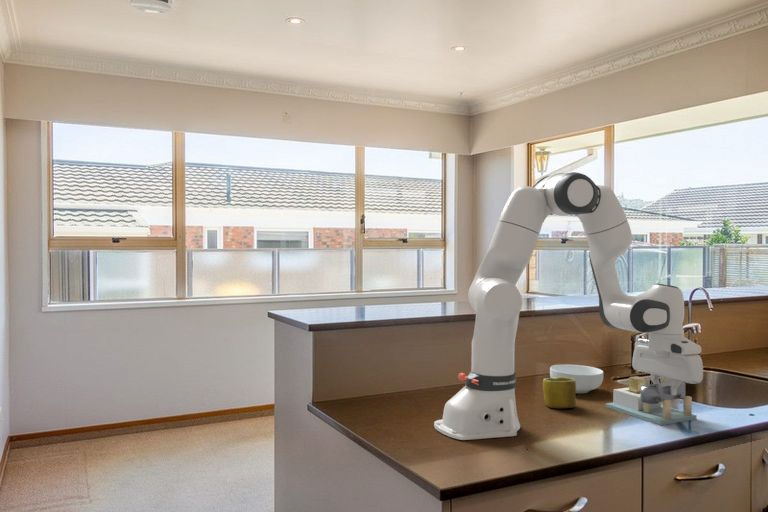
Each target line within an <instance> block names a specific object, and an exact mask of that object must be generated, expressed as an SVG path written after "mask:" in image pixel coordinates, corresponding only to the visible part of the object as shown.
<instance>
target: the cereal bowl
mask: <svg viewBox="0 0 768 512" xmlns="http://www.w3.org/2000/svg"><path fill="white" fill-rule="evenodd" d="M552 377H556V378H560V377H563V378H572V379H575V381H576V394H587V393H589V392H590V391H592V390H596V389H598V388H599V387H600V386H601V385H602V383H603V381H604V371H603V370H602V369H600V368H598V367H593V366H590V365H589V366H588V365H581V364H566V363H565V364H554V365H551V366H550V367H549V378H552Z"/></svg>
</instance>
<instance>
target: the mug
mask: <svg viewBox="0 0 768 512" xmlns="http://www.w3.org/2000/svg"><path fill="white" fill-rule="evenodd" d="M542 390H543V397H544V404H545V405H546V407H548V408H550V409H558V410H559V409H571V408H576V405H577V404H576V403H577V401H576V394H577V393H576V381H575V379H572V378H563V377H560V378H556V377H552V378H551V377H545V378H543V380H542Z"/></svg>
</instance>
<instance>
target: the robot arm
mask: <svg viewBox="0 0 768 512" xmlns="http://www.w3.org/2000/svg"><path fill="white" fill-rule="evenodd" d="M500 213H501V214H500V215H499V218H498V220H497V223H496V226H495V229H494V233H492V234H493V235H492V237H491V240H490V243H489V246H488V248H487V251H486V253H485V255H484V257H483V259H482V261H481V263H480V265H479V266H478V269H477V271H476V273H475V276H474V277H473V279H472V283H471V285H470V286H469V289H468V292H467V293H468V295H467V297H468V298H467V299H468V303H469V305H470V307H471V308H472V310H473V311H475V322H474V327H473V328H474V330H473V335H472V339H471V367H470V368H471V370H470V371H469V373H468V375H467V374H466V373H463V372H460V373H459V374H458V376H457V378H458V380H459V381H462V382H465V384H464V385H465V386H463V387H462V388H461V389H460V390H459V391H458V392H457V393H456V394H454V395H453V396H452V397H451V398H450V399H449V400H447V401H446V403H445V404H444V408H443V414H442V419H437V420H435V421H434V422H433V426H434V429H435V430H436V431H438V432H439V433H440V434H443V435H445V436H447V437H449V438H453V439H456V440H461V441H466V440H467V441H468V440H469V441H470V440H481V439H492V438H493V439H494V438H506V437H516V436H517V435H518V431H519V430H520V429H521V424H520V422H519V421H520V420H519V416H518V412H517V404H516V394H515V390H516V387H517V372H515V345H516V336H517V331H518V325H519V318H520V312H521V310H522V307H523V297H522V294H521V292H520V290H519V289H518V287H517V286H516V284H517V283H518V282H519V279H520V277H521V276H522V274H523V273H524V271H525V269H526V268H527V266H528V265H529V264H530V262H531V261H530V260H531V258H532V255H533V252H534V250H535V246H536V245H537V242H538V238H539V236H540V233H541V230H542V226H543V224H544V222H545V221H546V219H547V218H548V216H549V215H550V216H553V215H556V216H563V217H565V216H576V217H577V218H578V219H579V221H580V222H581V224H582V228H583V231H584V233H585V237H586V240H587V244H588V249H589V253H588V254H589V255H588V256H589V262H590V267H591V272H592V274H593V275H592V276H593V278H594V279H593V280H594V282H595V283H594V284H595V286H596V291H597V294H598V311H599V313H598V314H599V317H600V320H601V321H602V323H603V324H604V325H605V326H607V327H608V328H610V329H614V330H624V331H629V332H634V333H640V334H645V333H646V334H647V333H648V336H647V337H648V339H645V338H639V339H637V340H636V341H635V342H634V350H633V355H632V362H631V363H632V364H631V365H632V368H633V370H635V371H638V372H641V373H646V374H650V380H651V381H652V384H659V383H661V382H660V379H661V377H662V378H667V379H670V382H671V383H673V384H672V386H671V388H668V394H669V395H673V396H674V395H676V394H677V388H678V387H679V385H680V384H681V382H683V383H685V384H690V385H692V384H693V385H694V384H700V383H701V382H702V381H703V379H704V367H703V366H704V364H703V359H702V357H701V355H699V354H701V353H702V347H701V345H700V344H697V343H696V342H694V341H692V340H690V338H689V339H688V337H685V331H684V326H683V324H684V323H683V322H684V320H685V299H684V294H683V291H682V289H680V288H679V287H678V286H676V285H671V284H664V283H663V284H662V283H654V284H652V285H651V287H650V288H649V289H647V290H646V291H645V292H643V293H640V294H637V295H636V296H635V295H628V294H626V293H625V292H624V291H623V290H622V288H621V285H620V282H619V277H618V274H617V269H616V261H617V260H618V258H619V257H621V256H623V255H624V254H625V253H626V252H627V251H628V249H629V248H630V247H631V245H632V241H633V235H632V229H631V226H630V223H629V221H628V218H627V216H626V213H625V211H624V208H623V207H622V205H621V202H620V200H619V199H618V197H617V196H616V194H615V193H614V191H613V189H612V188H610V187H608V186H607V185H600V184H599V185H597V184H596V183H595V182H594V181H593V180H592V178H591V177H589V176H587V175H586V174H584V173H581V172H558V173H554V174H551V175H547V176H544V177H542V178H540V179H539V180H538V181H537V182H536V183H535V184H534V185H533V186H529V185H528V186H526V185H525V186H523V185H522V186H518V187H517V188H514V190H512V192H511V194H510V195H509V197H508V198H507V200H506V202H505V204H504V206H503V209H502V211H501V212H500Z"/></svg>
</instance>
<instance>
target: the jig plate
mask: <svg viewBox="0 0 768 512" xmlns="http://www.w3.org/2000/svg"><path fill="white" fill-rule="evenodd" d="M612 398H613V401H612V402H607V403H605V405H604V406H605V407H604V408H608V409H610V410H614V411H617V412H619V413H623V414H625V415H628V416H632V417H634V418H637V419H641V420H643V421H646V422H648V423H649V422H650V423H653V424H655V425H657V426H665V425H670V424H675V423H682V422H687V421H693V420H697V418H698V417H697V416H698V415H697V414H693V411H692V409H693V408H692V403H693V402H692V401H693V397H692V396H690V395H685V396H684V398H683V407H682V408H683V409H682V410H680V409H677V408H673V407H672V400H670V399H663V401H662V402H659V403H657V404H649V403H644V402H641V394H635V393H632V392H629V386H628V387H623V388H621V387H620V388H614V389H613V391H612Z"/></svg>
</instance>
